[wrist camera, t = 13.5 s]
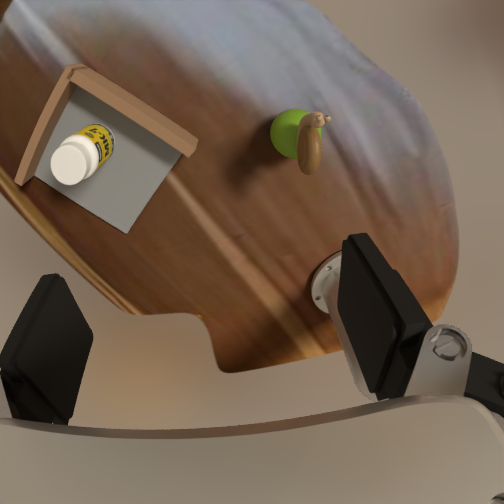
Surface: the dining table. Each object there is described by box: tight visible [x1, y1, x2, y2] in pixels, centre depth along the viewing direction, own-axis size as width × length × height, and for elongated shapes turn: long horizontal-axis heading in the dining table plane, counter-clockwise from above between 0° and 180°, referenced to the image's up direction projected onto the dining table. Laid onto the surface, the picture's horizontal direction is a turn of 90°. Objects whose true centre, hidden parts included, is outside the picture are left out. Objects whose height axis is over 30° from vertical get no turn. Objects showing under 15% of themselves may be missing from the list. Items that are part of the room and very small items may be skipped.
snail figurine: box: [270, 109, 331, 175], centre depth 30 cm, size 5×6×12 cm
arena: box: [14, 64, 198, 234], centre depth 32 cm, size 17×15×4 cm
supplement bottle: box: [51, 123, 115, 185], centre depth 29 cm, size 5×5×8 cm
